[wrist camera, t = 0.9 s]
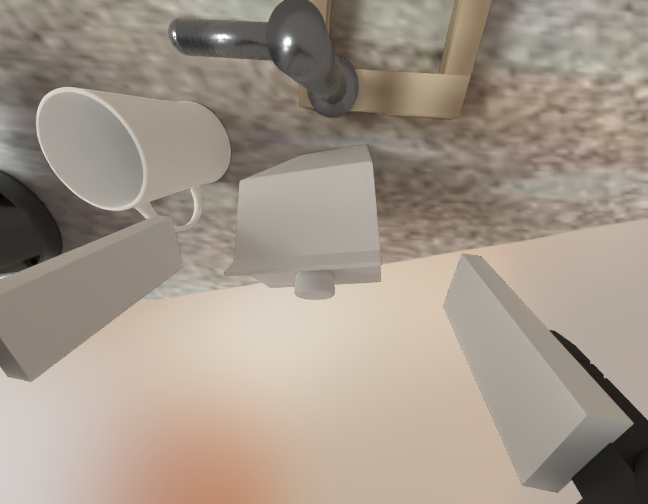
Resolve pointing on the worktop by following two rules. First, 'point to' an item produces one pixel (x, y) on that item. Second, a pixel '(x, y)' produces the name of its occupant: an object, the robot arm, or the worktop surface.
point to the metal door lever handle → (279, 50)
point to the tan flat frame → (422, 88)
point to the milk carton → (310, 223)
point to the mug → (131, 148)
